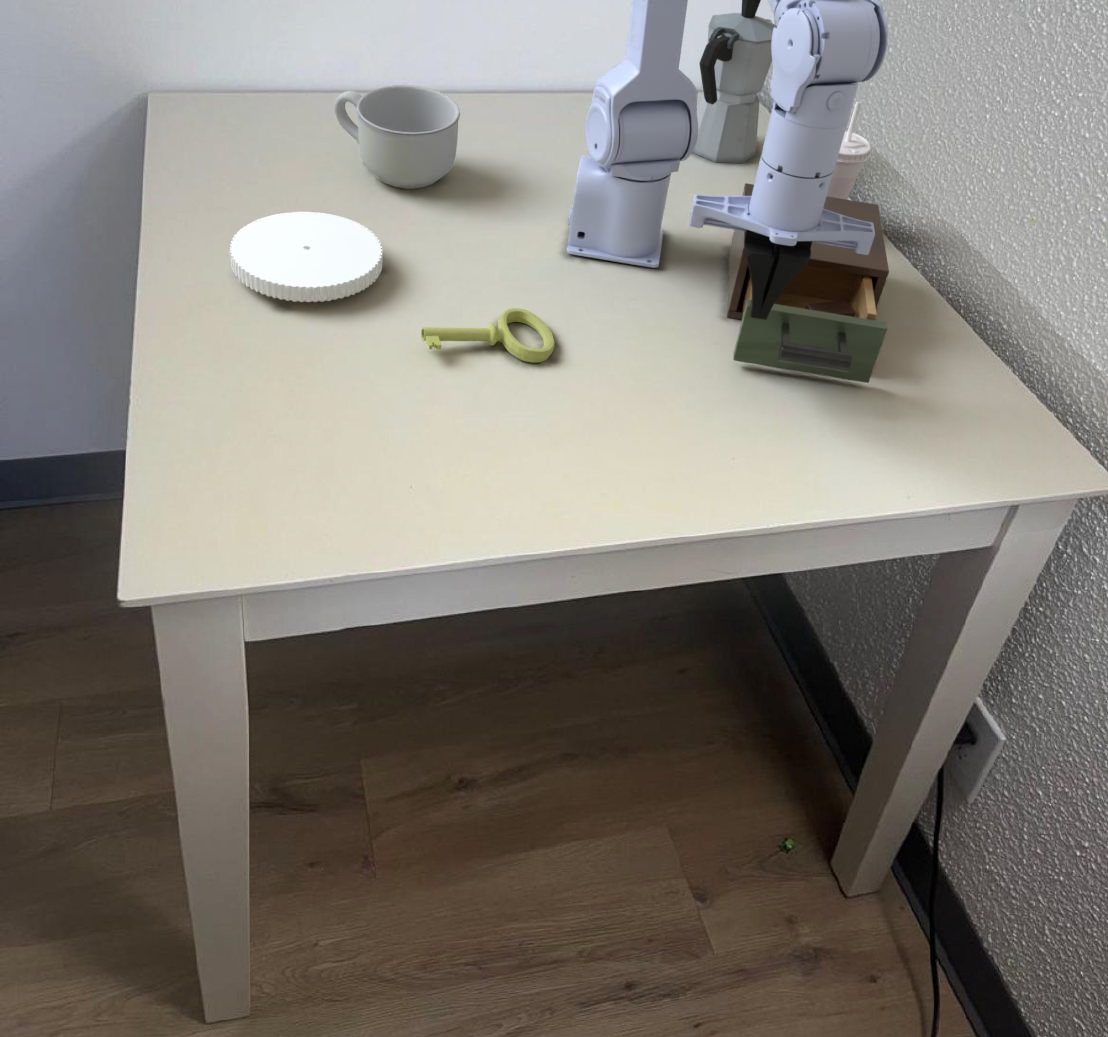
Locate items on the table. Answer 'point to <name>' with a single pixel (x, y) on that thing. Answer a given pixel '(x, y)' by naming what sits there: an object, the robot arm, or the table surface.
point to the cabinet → (818, 253)
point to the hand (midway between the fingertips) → (758, 312)
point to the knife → (833, 308)
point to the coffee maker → (733, 84)
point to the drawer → (815, 327)
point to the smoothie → (849, 160)
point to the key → (498, 335)
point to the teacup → (403, 133)
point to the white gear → (306, 256)
